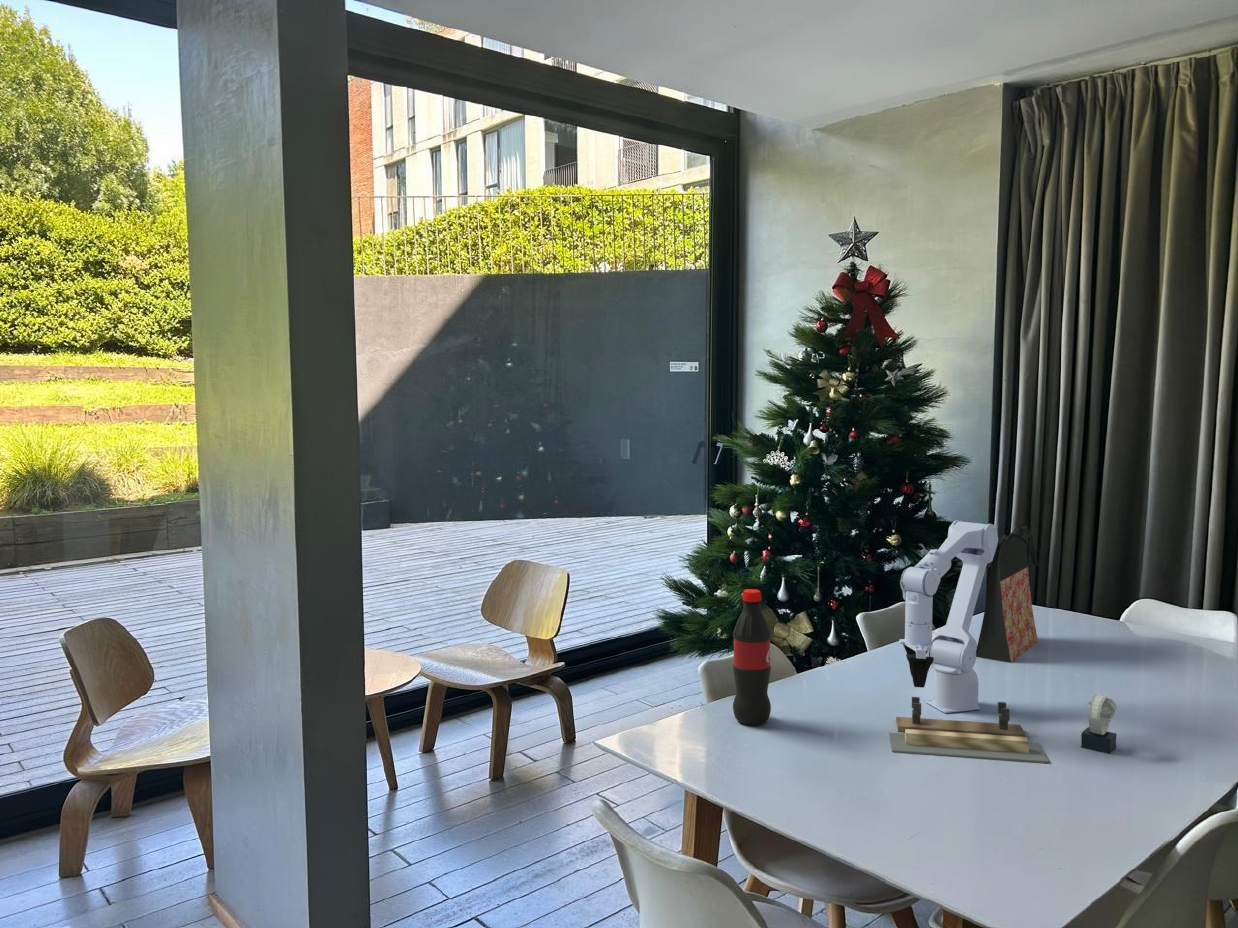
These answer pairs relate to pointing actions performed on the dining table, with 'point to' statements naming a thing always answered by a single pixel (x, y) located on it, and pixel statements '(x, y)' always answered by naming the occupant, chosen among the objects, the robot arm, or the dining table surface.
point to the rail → (967, 740)
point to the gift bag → (1009, 601)
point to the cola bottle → (752, 662)
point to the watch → (1100, 725)
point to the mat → (968, 751)
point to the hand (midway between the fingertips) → (917, 681)
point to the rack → (960, 723)
